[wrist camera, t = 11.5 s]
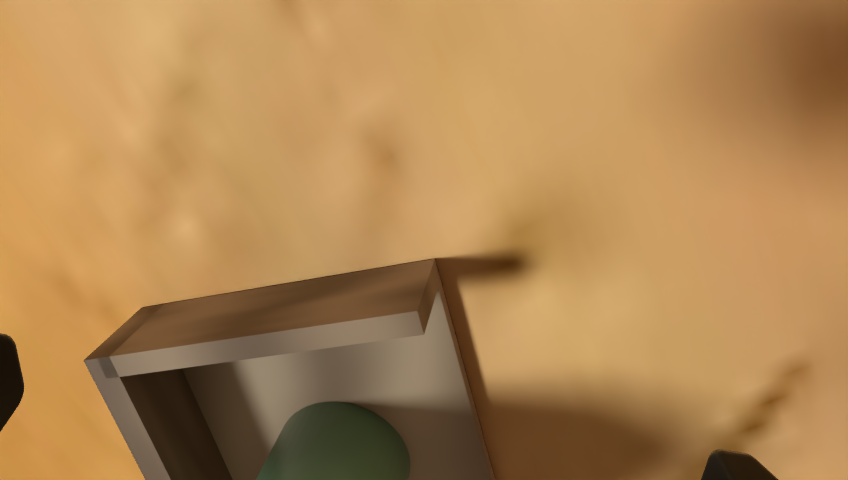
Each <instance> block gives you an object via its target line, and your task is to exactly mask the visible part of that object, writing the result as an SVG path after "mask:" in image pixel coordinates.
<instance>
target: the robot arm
mask: <svg viewBox="0 0 848 480" xmlns="http://www.w3.org/2000/svg"><path fill="white" fill-rule="evenodd" d="M23 392H24V382H23V377H22V372H21V368H20V363H19V358H18V353H17V349H16V345H15V342H14V341H13V339H12V338H11V337H10V336H8V335H6V334H1V333H0V431H1V430H2V428H3V427H4V426H5V424H6V423H7V421H8V420H9V418H10V417H11V415H12V414H13V412H14V411H15V410H16V408H17V407H18V405H19V403H20V401H21V399H22V396H23ZM701 480H778V479H777V478H776V477H775V476H774V475H773V474H772V473H770V472H769V471H768V470H767V469H766V468H765V467H764V466H763V465H762V464H761V463H760V462H758V461H757V460H756V459H755V458H754V457H752V456H751V455H749V454H745V453H740V452H734V451H727V450H721V449H718V450H715V451H713V452H712V453H711V455H710V456H709V458H708V461H707V464H706V467H705V470H704V472H703V475H702V478H701Z"/></svg>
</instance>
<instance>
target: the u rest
mask: <svg viewBox="0 0 848 480" xmlns="http://www.w3.org/2000/svg"><path fill="white" fill-rule="evenodd" d="M84 362H85V364H86V366H87V368H88V370H89V372H90V374H91V376H92V378H93V379H94V381H95V383H96V385H97V387H98V389H99V391H100V393H101V395H102V397H103V399H104V401H105V403H106V405H107V406H108V408H109V410H110V412H111V414H112V416H113V418H114V420H115V422H116V424H117V426H118V428H119V430H120V432H121V433H122V435H123V437H124V439H125V441H126V443H127V445H128V447H129V449H130V451H131V453H132V455H133V457H134V458H135V460H136V462H137V464H138V466H139V468H140V470H141V472H142V474H143V476H144V478H145V480H256V478H257V476H258V474H259V473H260V471H261V469H262V467H263V465H264V463H265V461H266V459H267V457H268V455H269V453H270V452H271V450H272V448H273V446H274V444H275V442H276V440H277V438H278V436H279V434H280V433H281V431H282V429H283V427H284V425H285V423H286V422H287V421H288V419H289V418H290V417H291V416H292V415H293V414H295V413H296V412H298V411H299V410H300V409H303V408H305V407H307V406H309V405H313V404H316V403H321V402H344V403H350V404H354V405H358V406H361V407H363V408H366V409H368V410H370V411H372V412H374V413H376V414H377V415H379V416H380V417H382V418H383V419H385V420H386V421H387V422H388V423H390V424H391V425H392V426H393V427H394V428H395V429H396V431H397V432H398V433H399V435H400V436H401V437H402V439H403V441H404V443H405V445H406V447H407V449H408V453H409V457H410V473H409V477H408V480H495V478H494V474H493V471H492V467H491V463H490V460H489V456H488V452H487V449H486V445H485V441H484V438H483V434H482V430H481V427H480V423H479V419H478V416H477V412H476V408H475V405H474V401H473V397H472V394H471V390H470V386H469V383H468V379H467V375H466V372H465V368H464V364H463V361H462V357H461V353H460V350H459V346H458V342H457V339H456V335H455V331H454V328H453V324H452V320H451V317H450V313H449V309H448V305H447V302H446V298H445V294H444V291H443V287H442V283H441V280H440V276H439V272H438V269H437V265H436V261H435V259H430V260H424V261H418V262H412V263H406V264H400V265H394V266H388V267H382V268H376V269H370V270H364V271H358V272H352V273H346V274H340V275H334V276H328V277H322V278H316V279H310V280H304V281H299V282H293V283H287V284H281V285H275V286H269V287H263V288H257V289H251V290H245V291H239V292H233V293H227V294H221V295H215V296H209V297H203V298H197V299H191V300H185V301H179V302H173V303H167V304H161V305H155V306H149V307H143V308H141V309H140V310H139V311H137V312H136V313H135V314H134V315H133V316H132V317H131V318H130V319H129V320H128V321H126V322H125V323H124V324H123V325H122V326H121V327H120V328H119V329H118V330H117V331H115V332H114V333H113V334H112V335H111V336H110V337H109V338H108V339H107V340H106V341H104V342H103V343H102V344H101V345H100V346H99V347H98V348H97V349H96V350H95V351H93V352H92V353H91V354H90V355H89V356H88V357H87V358H86V359H85V360H84Z"/></svg>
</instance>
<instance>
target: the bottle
mask: <svg viewBox="0 0 848 480" xmlns="http://www.w3.org/2000/svg"><path fill="white" fill-rule="evenodd" d="M409 473H410V457H409V453H408V449H407V447H406V445H405V443H404V441H403V439H402V437H401V436H400V435H399V433H398V432H397V431H396V429H395V428H394V427H393V426H392V425H391V424H390V423H388V422H387V421H386V420H385V419H383V418H382V417H380V416H379V415H377V414H376V413H374V412H372V411H370V410H368V409H366V408H363V407H361V406H358V405H354V404H350V403H344V402H321V403H316V404H313V405H309V406H307V407H305V408H303V409H300V410H299V411H298V412H296V413H295V414H293V415H292V416H291V417H290V418H289V419H288V421H287V422H286V423H285V425H284V427H283V429H282V431H281V433H280V434H279V436H278V438H277V440H276V442H275V444H274V446H273V448H272V450H271V452H270V453H269V455H268V457H267V459H266V461H265V463H264V465H263V467H262V469H261V471H260V473H259V474H258V476H257V478H256V480H408V477H409Z"/></svg>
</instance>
